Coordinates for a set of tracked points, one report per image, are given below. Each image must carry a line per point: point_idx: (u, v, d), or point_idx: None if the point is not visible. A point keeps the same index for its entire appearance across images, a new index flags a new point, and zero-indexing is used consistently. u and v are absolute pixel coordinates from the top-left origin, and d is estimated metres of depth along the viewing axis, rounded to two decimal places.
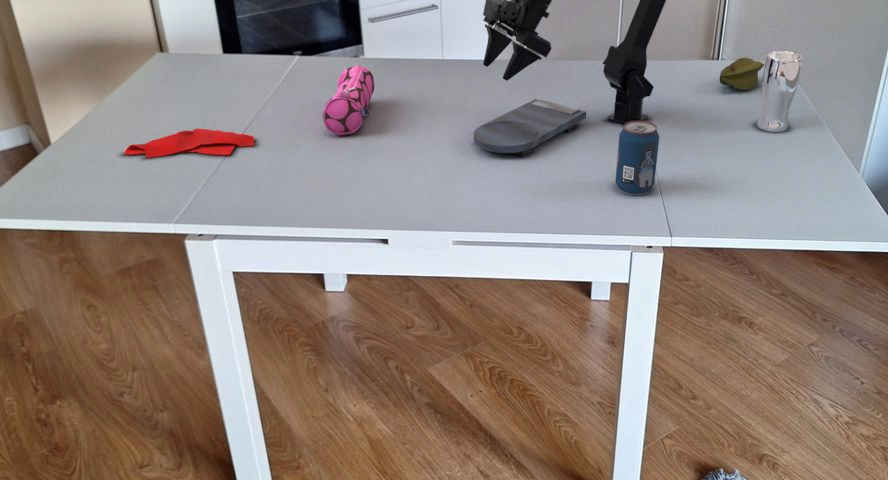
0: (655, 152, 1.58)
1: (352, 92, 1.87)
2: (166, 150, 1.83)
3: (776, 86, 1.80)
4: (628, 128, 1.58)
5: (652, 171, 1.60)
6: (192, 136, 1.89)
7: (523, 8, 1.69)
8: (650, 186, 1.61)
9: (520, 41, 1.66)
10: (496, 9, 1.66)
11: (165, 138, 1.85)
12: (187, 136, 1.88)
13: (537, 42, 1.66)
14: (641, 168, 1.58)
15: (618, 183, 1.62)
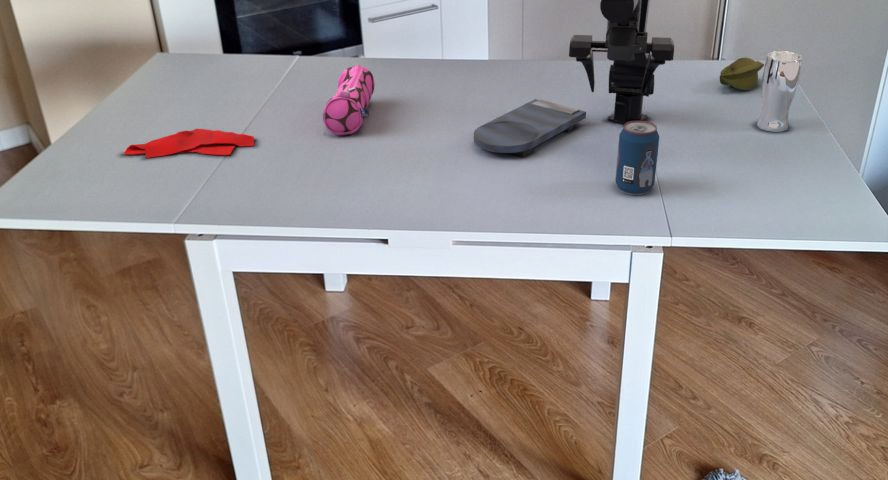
0: (655, 152, 1.58)
1: (352, 92, 1.87)
2: (166, 150, 1.83)
3: (776, 86, 1.80)
4: (628, 128, 1.58)
5: (652, 171, 1.60)
6: (192, 136, 1.89)
7: (637, 28, 1.61)
8: (650, 186, 1.61)
9: (665, 59, 1.62)
10: (638, 50, 1.57)
11: (165, 138, 1.85)
12: (187, 136, 1.88)
13: None
14: (641, 168, 1.58)
15: (618, 183, 1.62)
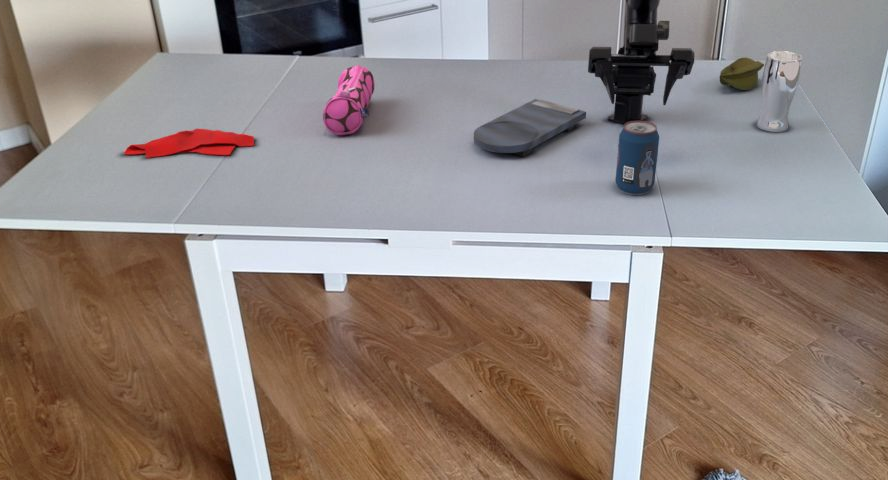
0: (655, 152, 1.58)
1: (352, 92, 1.87)
2: (166, 150, 1.83)
3: (776, 86, 1.80)
4: (628, 128, 1.58)
5: (652, 171, 1.60)
6: (192, 136, 1.89)
7: None
8: (650, 186, 1.61)
9: (686, 58, 1.61)
10: (662, 30, 1.58)
11: (165, 138, 1.85)
12: (187, 136, 1.88)
13: None
14: (641, 168, 1.58)
15: (618, 183, 1.62)
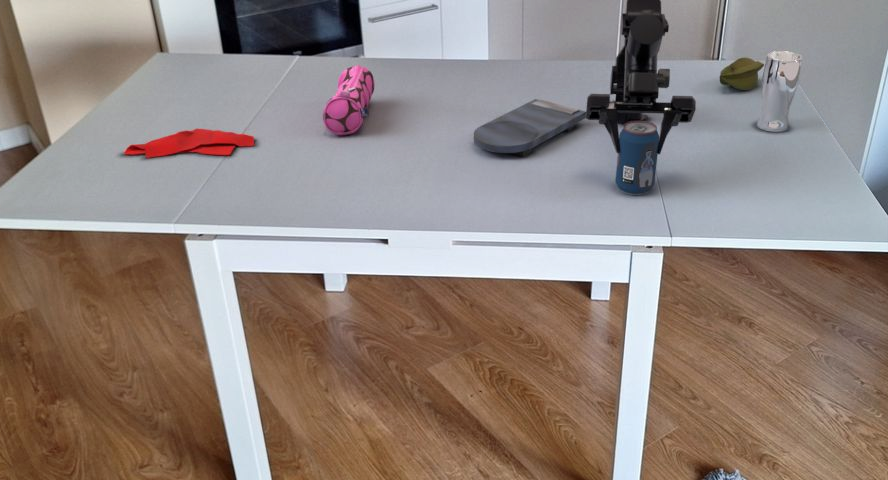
0: (655, 152, 1.58)
1: (352, 92, 1.87)
2: (166, 150, 1.83)
3: (776, 86, 1.80)
4: (628, 128, 1.58)
5: (652, 171, 1.59)
6: (192, 136, 1.89)
7: None
8: (650, 186, 1.61)
9: (687, 106, 1.57)
10: (662, 78, 1.53)
11: (165, 138, 1.85)
12: (187, 136, 1.88)
13: None
14: (641, 168, 1.58)
15: (618, 183, 1.62)
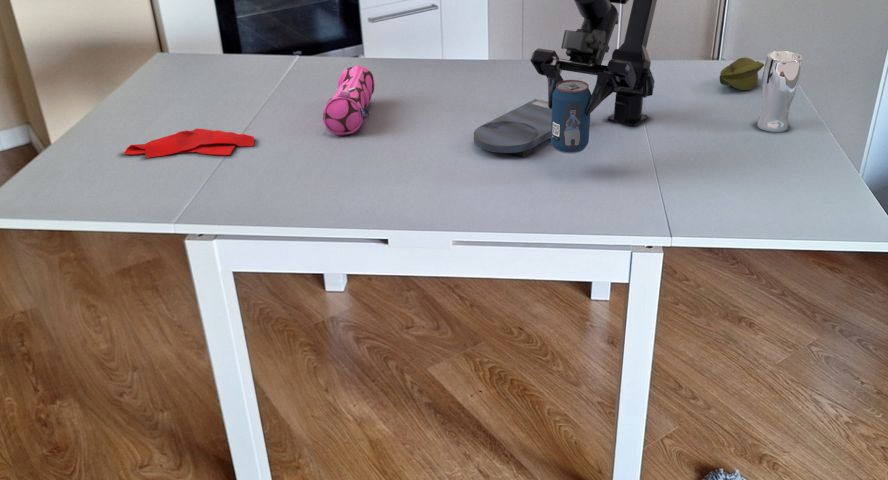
0: (582, 112, 1.60)
1: (352, 92, 1.87)
2: (166, 150, 1.83)
3: (776, 86, 1.80)
4: (561, 85, 1.61)
5: (579, 131, 1.62)
6: (192, 136, 1.89)
7: None
8: (578, 146, 1.63)
9: (619, 71, 1.57)
10: (591, 39, 1.55)
11: (165, 138, 1.85)
12: (187, 136, 1.88)
13: (632, 72, 1.58)
14: (566, 126, 1.61)
15: None
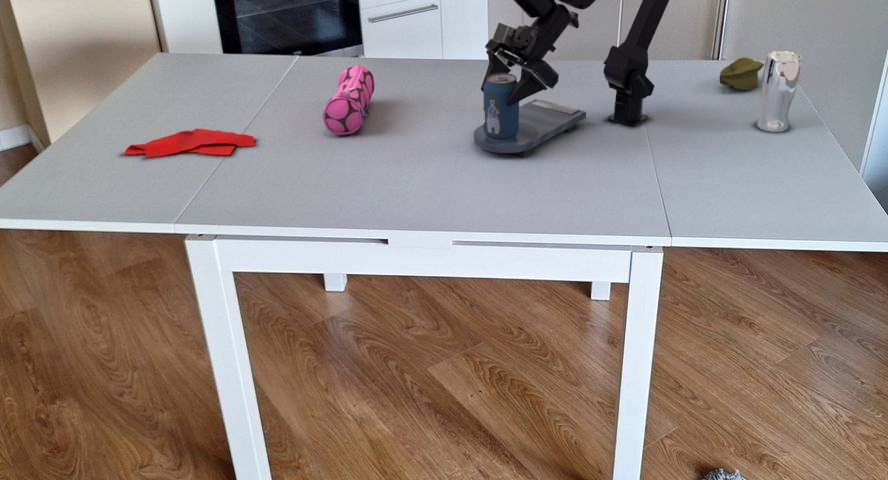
0: (500, 103, 1.72)
1: (352, 92, 1.87)
2: (166, 150, 1.83)
3: (776, 86, 1.80)
4: (495, 76, 1.75)
5: (498, 121, 1.74)
6: (192, 136, 1.89)
7: (534, 38, 1.69)
8: (498, 135, 1.75)
9: (531, 68, 1.66)
10: (511, 33, 1.66)
11: (165, 138, 1.85)
12: (187, 136, 1.88)
13: (548, 71, 1.66)
14: (488, 114, 1.74)
15: None
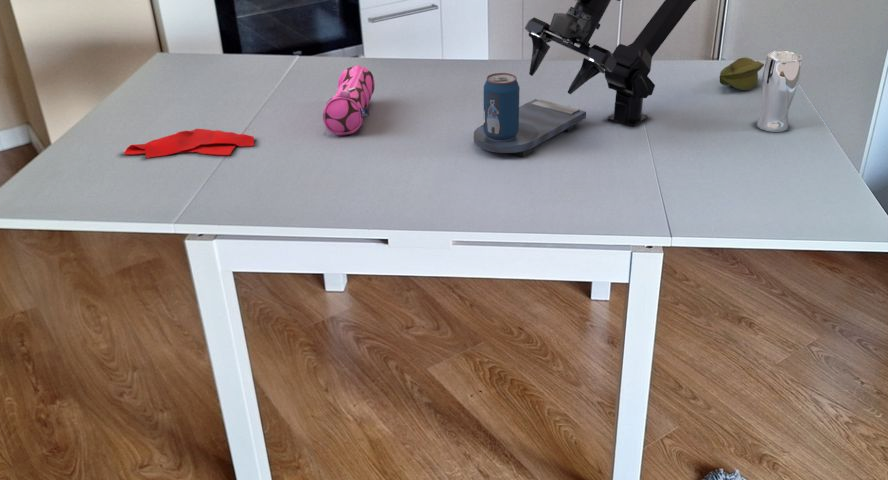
0: (500, 103, 1.72)
1: (352, 92, 1.87)
2: (166, 150, 1.83)
3: (776, 86, 1.80)
4: (495, 76, 1.75)
5: (498, 121, 1.74)
6: (192, 136, 1.89)
7: None
8: (498, 135, 1.75)
9: (598, 59, 1.69)
10: (575, 28, 1.67)
11: (165, 138, 1.85)
12: (187, 136, 1.88)
13: (611, 59, 1.71)
14: (488, 114, 1.74)
15: None
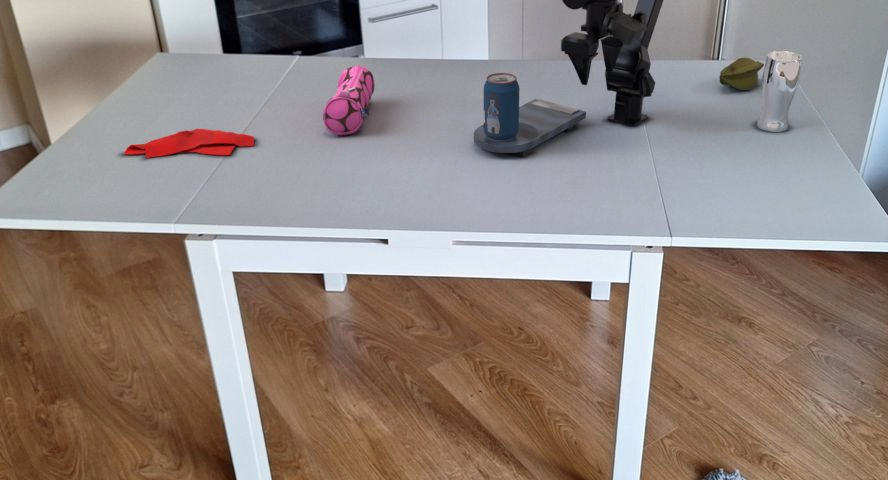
0: (500, 103, 1.72)
1: (352, 92, 1.87)
2: (166, 150, 1.83)
3: (776, 86, 1.80)
4: (495, 76, 1.75)
5: (498, 121, 1.74)
6: (192, 136, 1.89)
7: None
8: (498, 135, 1.75)
9: None
10: (645, 28, 1.69)
11: (165, 138, 1.85)
12: (187, 136, 1.88)
13: None
14: (488, 114, 1.74)
15: None
